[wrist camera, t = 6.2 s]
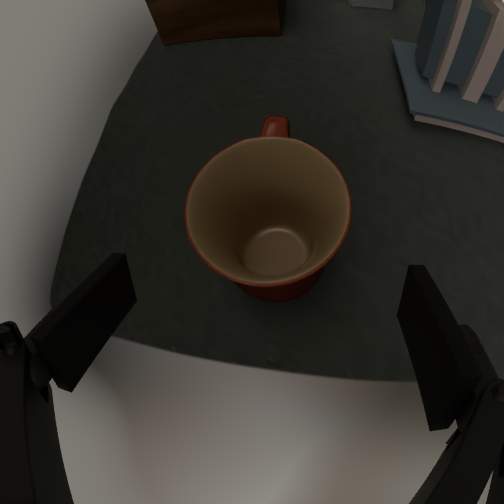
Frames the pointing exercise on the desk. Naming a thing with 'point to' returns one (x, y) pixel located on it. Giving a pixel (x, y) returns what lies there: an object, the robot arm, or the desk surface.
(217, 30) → the plinth
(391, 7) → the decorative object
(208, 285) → the desk surface
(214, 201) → the mug
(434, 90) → the desk lamp
